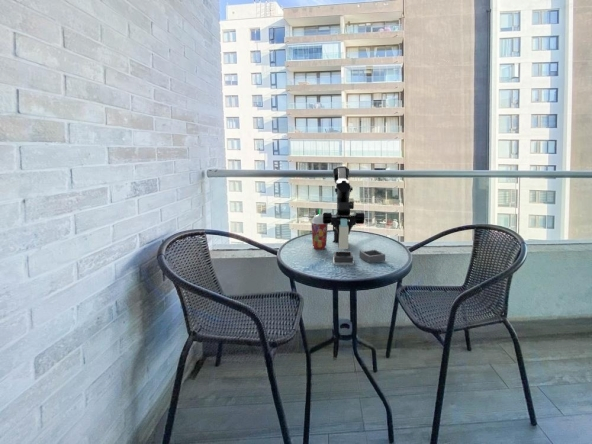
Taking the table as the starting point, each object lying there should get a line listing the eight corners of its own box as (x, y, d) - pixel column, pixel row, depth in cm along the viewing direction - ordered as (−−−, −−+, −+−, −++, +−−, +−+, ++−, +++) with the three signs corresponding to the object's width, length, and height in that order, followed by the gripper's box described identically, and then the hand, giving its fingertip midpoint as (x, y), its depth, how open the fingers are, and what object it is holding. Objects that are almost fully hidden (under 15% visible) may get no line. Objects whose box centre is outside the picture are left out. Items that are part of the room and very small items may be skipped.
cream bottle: (338, 246, 186) (339, 218, 183) (347, 246, 185) (348, 218, 183) (339, 248, 182) (339, 220, 179) (348, 248, 182) (348, 220, 179)
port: (333, 258, 190) (333, 251, 189) (352, 258, 189) (352, 251, 188) (333, 264, 181) (333, 257, 180) (353, 265, 180) (354, 257, 180)
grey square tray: (359, 257, 191) (359, 251, 190) (375, 255, 193) (375, 249, 193) (368, 263, 183) (369, 256, 182) (385, 260, 186) (385, 254, 185)
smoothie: (329, 246, 210) (329, 208, 205) (325, 250, 202) (325, 211, 198) (313, 245, 212) (313, 207, 208) (309, 249, 205) (309, 210, 200)
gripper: (323, 194, 183) (322, 224, 175) (365, 194, 182) (366, 224, 173) (323, 208, 192) (322, 237, 184) (362, 208, 191) (364, 237, 183)
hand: (343, 234), depth 181 cm, fingers closed on cream bottle, 4 cm apart
